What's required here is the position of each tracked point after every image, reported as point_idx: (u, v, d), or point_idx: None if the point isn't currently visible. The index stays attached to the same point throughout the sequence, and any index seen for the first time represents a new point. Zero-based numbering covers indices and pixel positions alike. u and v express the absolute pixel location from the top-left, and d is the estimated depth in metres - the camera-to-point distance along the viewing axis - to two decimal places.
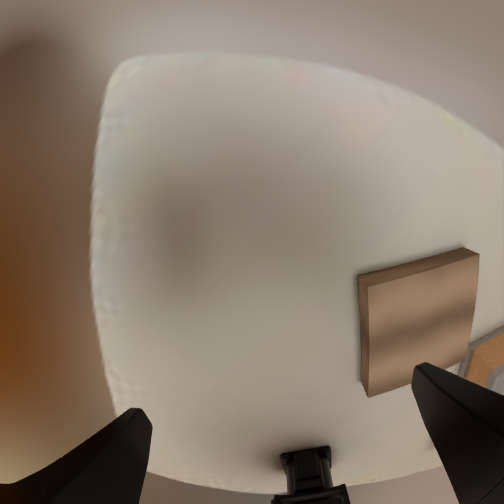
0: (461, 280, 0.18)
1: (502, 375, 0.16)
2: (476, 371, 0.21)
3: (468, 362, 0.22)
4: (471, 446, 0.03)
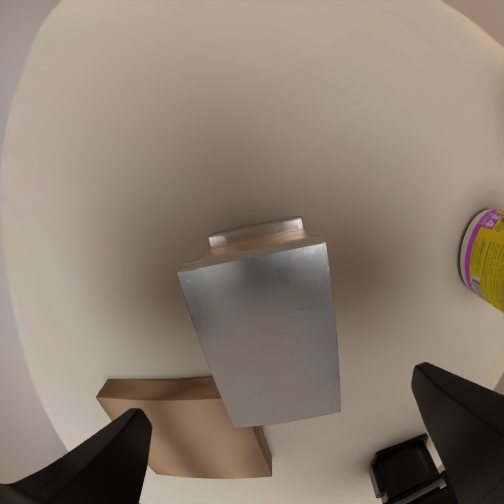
0: None
1: (236, 410, 0.11)
2: None
3: None
4: (471, 446, 0.03)
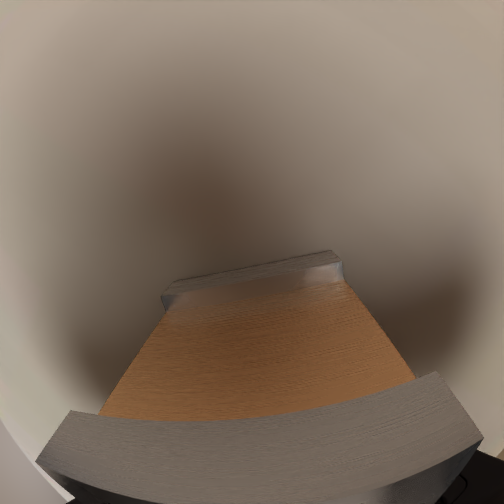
0: None
1: None
2: None
3: None
4: None
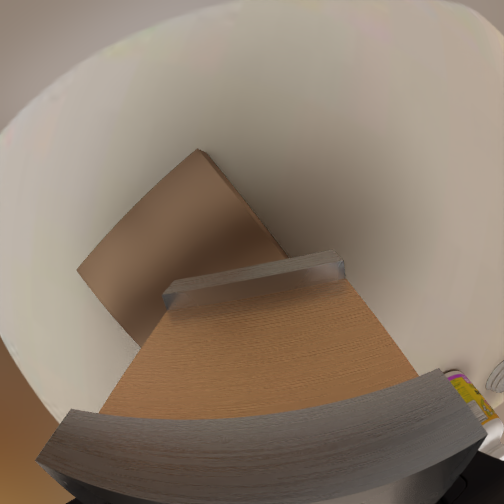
0: (186, 200, 0.15)
1: None
2: None
3: None
4: None
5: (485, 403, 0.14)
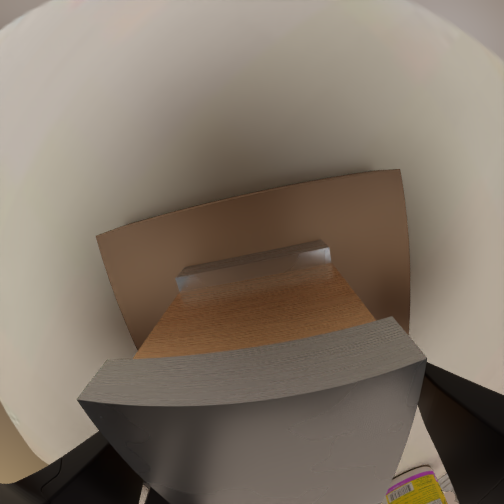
0: (352, 230, 0.09)
1: None
2: None
3: None
4: (471, 446, 0.03)
5: (446, 503, 0.11)
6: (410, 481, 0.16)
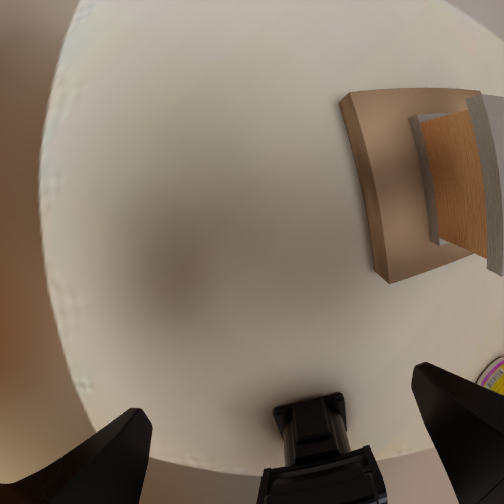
0: None
1: None
2: None
3: None
4: (471, 446, 0.03)
5: None
6: (499, 366, 0.19)
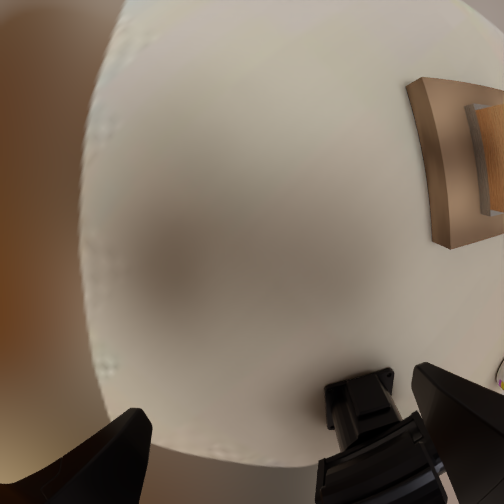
0: None
1: None
2: None
3: None
4: (471, 446, 0.03)
5: None
6: None
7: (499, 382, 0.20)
